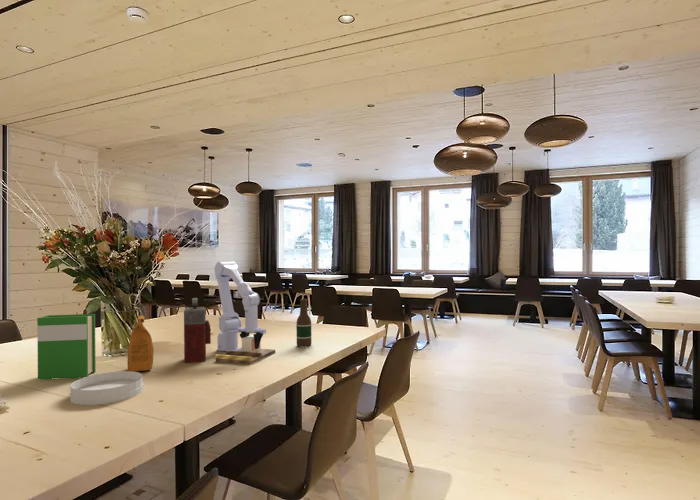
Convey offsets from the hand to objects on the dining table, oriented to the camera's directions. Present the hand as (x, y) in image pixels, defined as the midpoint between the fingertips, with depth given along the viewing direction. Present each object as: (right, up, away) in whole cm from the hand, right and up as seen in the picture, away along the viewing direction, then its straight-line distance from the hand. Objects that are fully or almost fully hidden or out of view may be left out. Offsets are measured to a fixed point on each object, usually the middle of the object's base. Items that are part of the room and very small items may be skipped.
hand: (251, 348), depth 200 cm
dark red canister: (-23, -4, -8) cm, 24 cm away
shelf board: (-1, -3, -4) cm, 5 cm away
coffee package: (-41, -4, -23) cm, 47 cm away
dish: (-37, -4, -54) cm, 65 cm away
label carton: (0, -2, 0) cm, 2 cm away
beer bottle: (+23, -3, +18) cm, 29 cm away
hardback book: (-66, -4, -32) cm, 73 cm away
